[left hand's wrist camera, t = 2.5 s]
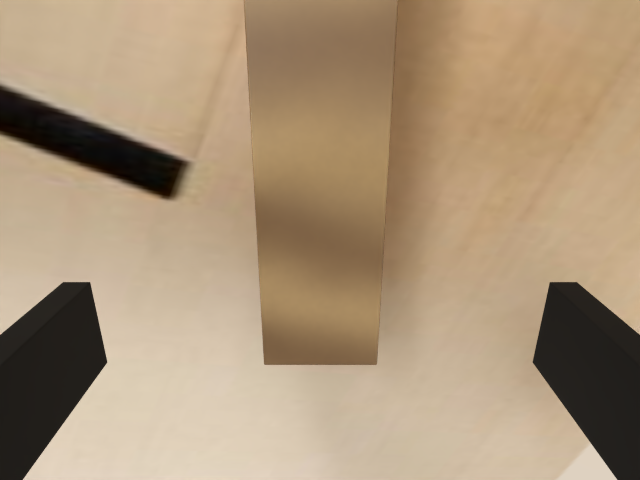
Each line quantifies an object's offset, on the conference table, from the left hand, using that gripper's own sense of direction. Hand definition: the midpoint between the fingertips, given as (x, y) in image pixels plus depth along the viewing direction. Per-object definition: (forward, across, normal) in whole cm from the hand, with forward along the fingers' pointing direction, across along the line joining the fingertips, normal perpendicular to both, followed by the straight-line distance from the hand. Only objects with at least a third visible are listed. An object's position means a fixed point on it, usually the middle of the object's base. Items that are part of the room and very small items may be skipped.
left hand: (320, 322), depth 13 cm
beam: (+12, 0, -20) cm, 23 cm away
